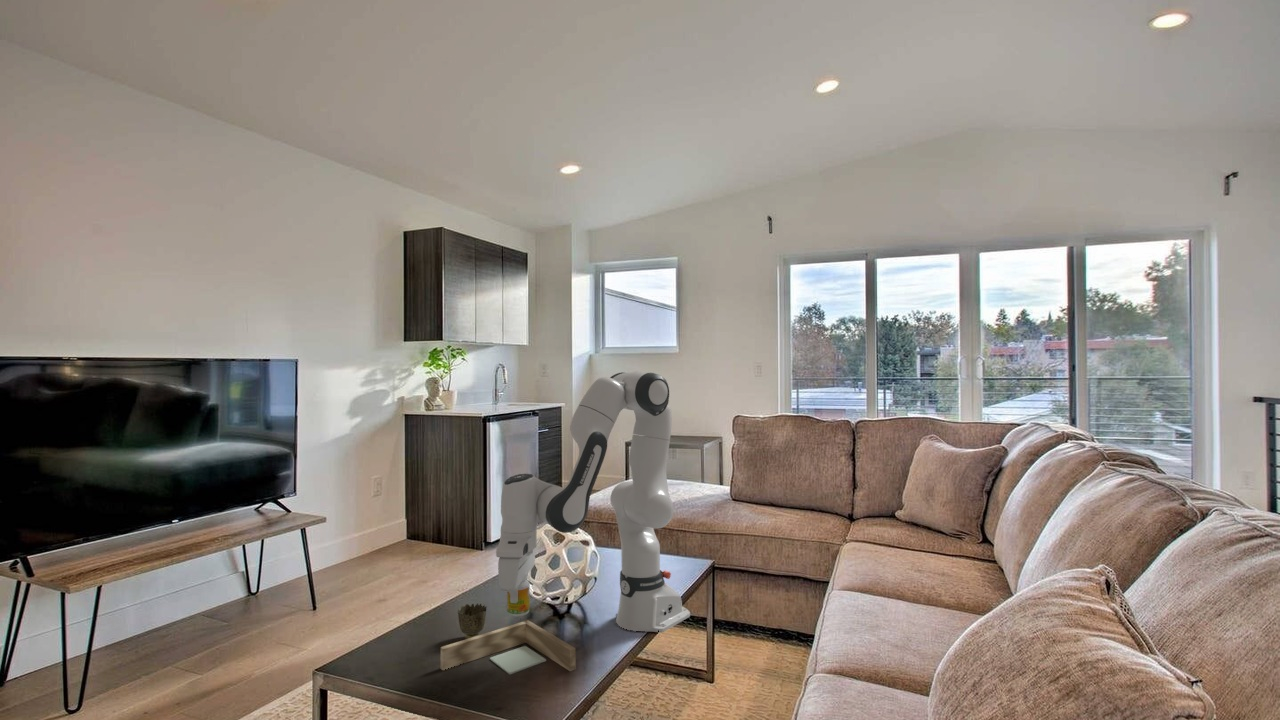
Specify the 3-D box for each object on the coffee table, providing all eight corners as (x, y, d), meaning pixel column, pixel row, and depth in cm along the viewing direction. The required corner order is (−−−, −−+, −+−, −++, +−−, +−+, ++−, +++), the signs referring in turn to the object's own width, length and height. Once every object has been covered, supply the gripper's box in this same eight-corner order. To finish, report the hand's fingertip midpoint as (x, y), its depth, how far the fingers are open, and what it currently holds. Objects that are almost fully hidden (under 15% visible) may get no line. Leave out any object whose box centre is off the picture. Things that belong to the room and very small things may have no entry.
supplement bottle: (505, 617, 143) (505, 576, 143) (508, 608, 148) (509, 569, 148) (528, 616, 143) (528, 576, 143) (530, 607, 148) (530, 569, 149)
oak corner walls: (527, 639, 157) (527, 620, 157) (575, 669, 141) (575, 648, 141) (440, 668, 141) (440, 647, 141) (482, 706, 125) (482, 682, 125)
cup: (478, 645, 153) (478, 614, 153) (452, 643, 154) (452, 612, 155) (491, 633, 160) (491, 604, 161) (466, 631, 162) (466, 602, 162)
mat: (525, 647, 152) (525, 645, 152) (546, 661, 145) (546, 659, 145) (489, 659, 146) (489, 657, 146) (509, 674, 138) (509, 672, 138)
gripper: (517, 529, 157) (517, 582, 156) (493, 552, 136) (493, 612, 136) (540, 530, 156) (540, 582, 156) (520, 552, 136) (520, 613, 135)
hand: (518, 596), depth 146 cm, fingers closed on supplement bottle, 5 cm apart
